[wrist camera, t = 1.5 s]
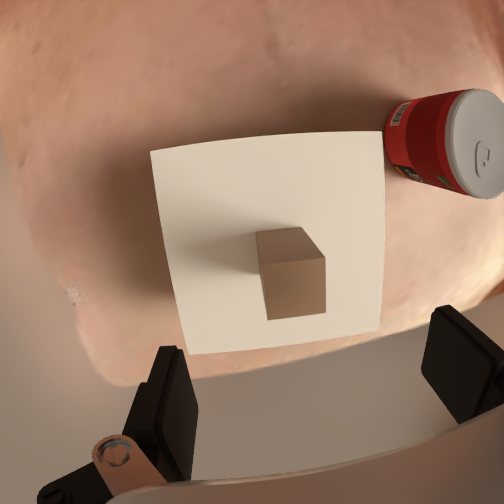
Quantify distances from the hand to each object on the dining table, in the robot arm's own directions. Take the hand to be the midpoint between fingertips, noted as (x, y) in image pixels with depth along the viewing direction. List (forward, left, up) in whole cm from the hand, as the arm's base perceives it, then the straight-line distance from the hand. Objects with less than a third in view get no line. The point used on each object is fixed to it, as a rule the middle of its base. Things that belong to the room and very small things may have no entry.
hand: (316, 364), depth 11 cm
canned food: (-8, +15, -19) cm, 26 cm away
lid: (-1, 0, -12) cm, 12 cm away
